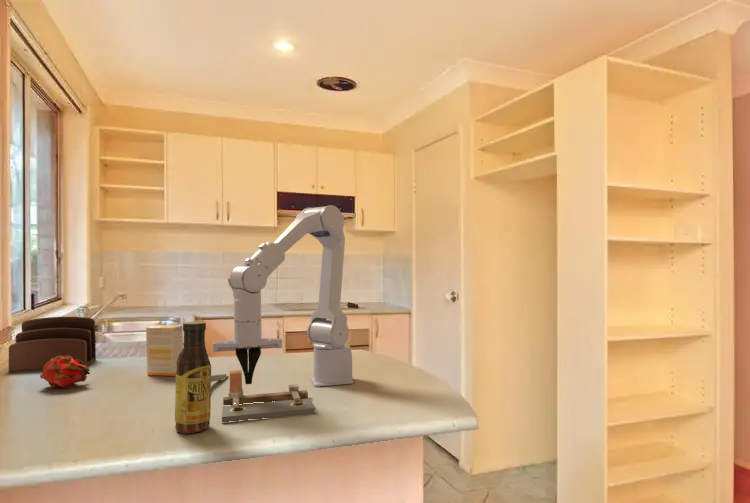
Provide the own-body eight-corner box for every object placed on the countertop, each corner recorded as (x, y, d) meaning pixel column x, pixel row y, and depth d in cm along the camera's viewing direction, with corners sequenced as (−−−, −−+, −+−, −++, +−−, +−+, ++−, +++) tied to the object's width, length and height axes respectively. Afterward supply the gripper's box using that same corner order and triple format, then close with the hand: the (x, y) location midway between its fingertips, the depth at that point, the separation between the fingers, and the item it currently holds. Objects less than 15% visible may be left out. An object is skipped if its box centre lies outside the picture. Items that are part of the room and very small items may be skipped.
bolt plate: (310, 403, 107) (309, 397, 107) (314, 414, 100) (314, 407, 100) (222, 411, 102) (222, 405, 102) (221, 423, 96) (221, 416, 96)
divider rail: (306, 396, 112) (306, 383, 112) (312, 409, 103) (312, 395, 103) (223, 404, 108) (223, 390, 108) (222, 418, 98) (222, 403, 98)
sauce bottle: (189, 437, 88) (188, 326, 88) (167, 431, 92) (166, 323, 92) (218, 426, 94) (217, 321, 94) (197, 420, 97) (196, 319, 97)
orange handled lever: (243, 394, 109) (242, 369, 109) (243, 408, 99) (243, 381, 99) (228, 396, 108) (228, 370, 108) (228, 410, 99) (227, 382, 99)
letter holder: (22, 364, 149) (22, 317, 149) (96, 360, 154) (96, 314, 154) (7, 372, 139) (7, 322, 139) (86, 367, 145) (86, 319, 145)
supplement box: (184, 372, 137) (183, 324, 137) (174, 376, 132) (173, 327, 132) (157, 371, 138) (156, 324, 138) (146, 375, 133) (145, 326, 133)
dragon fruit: (44, 391, 125) (87, 399, 123) (23, 378, 118) (68, 387, 116) (62, 359, 130) (104, 367, 128) (44, 346, 123) (87, 354, 121)
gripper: (279, 316, 114) (280, 375, 114) (213, 319, 110) (213, 381, 110) (283, 320, 107) (283, 383, 107) (212, 324, 103) (213, 389, 103)
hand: (248, 383), depth 108 cm, fingers closed
